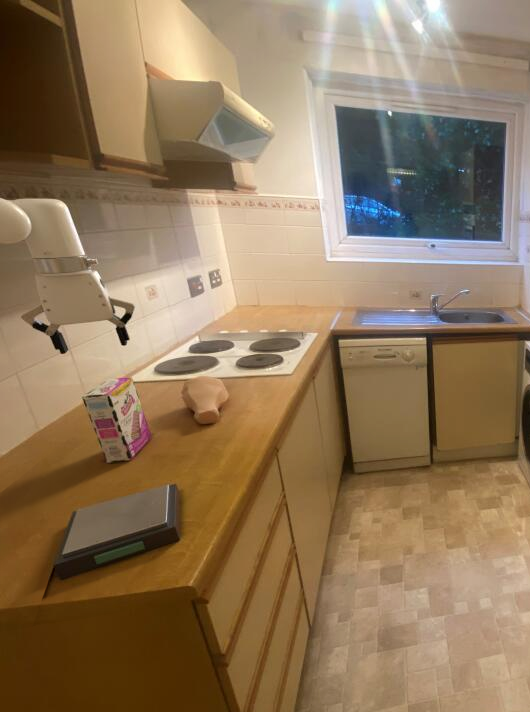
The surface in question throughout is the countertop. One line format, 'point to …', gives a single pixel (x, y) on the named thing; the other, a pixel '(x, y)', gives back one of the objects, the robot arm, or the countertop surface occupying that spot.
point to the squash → (205, 398)
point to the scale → (121, 543)
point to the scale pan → (117, 520)
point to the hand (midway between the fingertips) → (95, 348)
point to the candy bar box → (118, 419)
